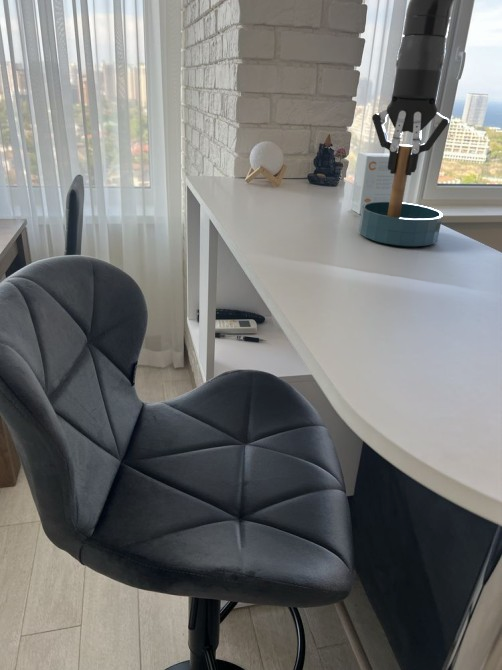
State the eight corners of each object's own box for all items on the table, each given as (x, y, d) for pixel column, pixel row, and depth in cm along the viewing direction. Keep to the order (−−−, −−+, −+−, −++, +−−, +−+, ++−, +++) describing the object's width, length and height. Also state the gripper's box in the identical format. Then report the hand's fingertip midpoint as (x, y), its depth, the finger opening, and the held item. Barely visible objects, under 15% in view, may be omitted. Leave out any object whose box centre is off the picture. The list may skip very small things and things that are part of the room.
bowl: (437, 234, 104) (443, 207, 102) (434, 253, 91) (441, 223, 89) (365, 224, 108) (369, 198, 106) (352, 241, 96) (356, 212, 93)
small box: (381, 209, 124) (390, 153, 118) (391, 215, 118) (401, 156, 112) (349, 208, 122) (357, 152, 117) (358, 214, 117) (367, 155, 111)
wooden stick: (398, 227, 98) (413, 145, 92) (397, 229, 96) (412, 146, 90) (386, 225, 99) (399, 144, 92) (384, 228, 97) (398, 145, 90)
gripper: (462, 70, 86) (441, 175, 94) (380, 67, 91) (366, 167, 98) (462, 68, 80) (439, 180, 88) (374, 65, 84) (359, 172, 92)
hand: (400, 173), depth 93 cm, fingers closed on wooden stick, 2 cm apart
